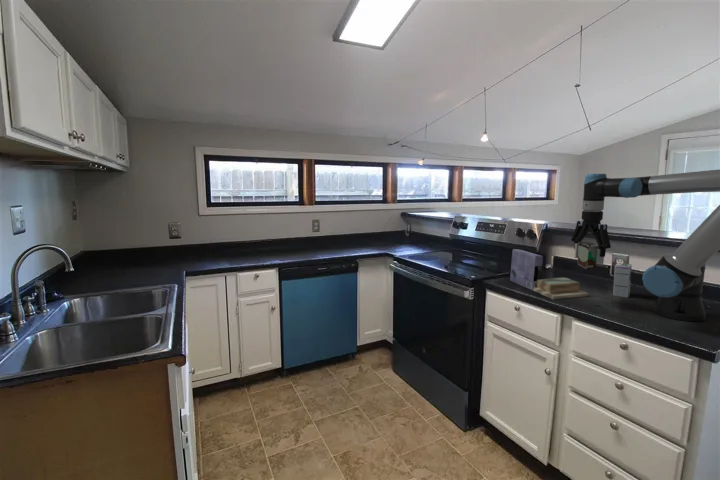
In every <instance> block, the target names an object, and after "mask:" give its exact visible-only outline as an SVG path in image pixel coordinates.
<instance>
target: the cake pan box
mask: <svg viewBox="0 0 720 480" xmlns="http://www.w3.org/2000/svg"><path fill="white" fill-rule="evenodd" d="M511 254H512V255H511V263H510V264H511V265H510V276H509V277H510V278H509V280H510V282H511V283H514V284H517V285H518V286H521V287H523V288H525V289H529V290H531V291H534V290H533V287H537V280H538V279H543V275H544V269H543V261H544V256H543V255H539V254H536V253H533V252H530V251H526V250H523V249H518V248H517V249H516V248H513V249H512V253H511Z"/></svg>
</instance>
